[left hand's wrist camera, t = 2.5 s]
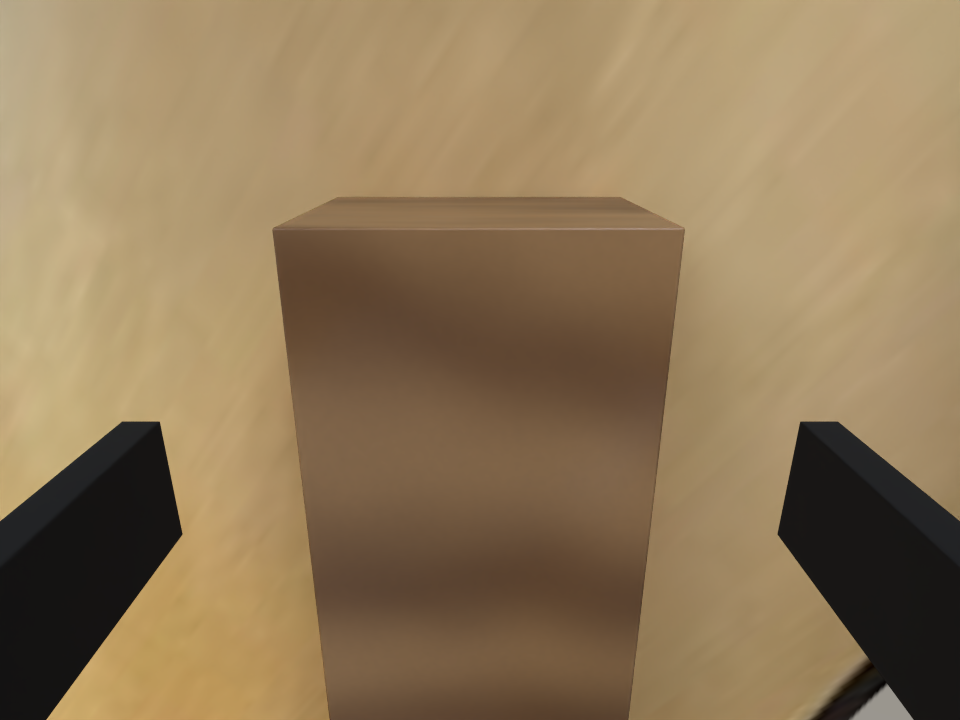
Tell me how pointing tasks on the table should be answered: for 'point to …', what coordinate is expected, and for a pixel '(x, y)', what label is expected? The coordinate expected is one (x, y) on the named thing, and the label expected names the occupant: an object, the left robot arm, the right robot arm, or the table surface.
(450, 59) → the table surface
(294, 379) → the slab
